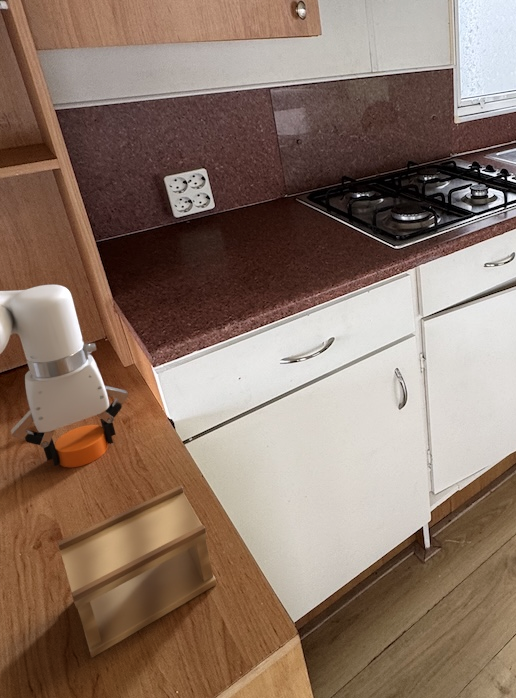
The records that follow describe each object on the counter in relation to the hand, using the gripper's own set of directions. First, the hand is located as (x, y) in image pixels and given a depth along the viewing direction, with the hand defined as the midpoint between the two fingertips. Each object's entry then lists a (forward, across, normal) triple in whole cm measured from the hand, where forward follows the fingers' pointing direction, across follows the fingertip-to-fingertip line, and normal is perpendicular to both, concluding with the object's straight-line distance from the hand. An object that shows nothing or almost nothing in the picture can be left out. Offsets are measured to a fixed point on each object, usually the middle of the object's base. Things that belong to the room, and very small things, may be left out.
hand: (82, 449), depth 99 cm
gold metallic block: (+1, -1, +36) cm, 36 cm away
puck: (+1, 0, 0) cm, 1 cm away
